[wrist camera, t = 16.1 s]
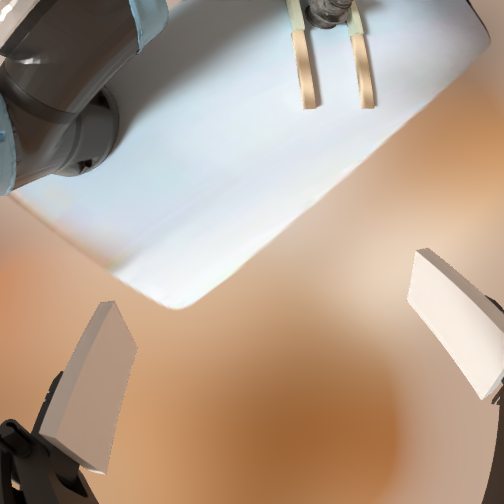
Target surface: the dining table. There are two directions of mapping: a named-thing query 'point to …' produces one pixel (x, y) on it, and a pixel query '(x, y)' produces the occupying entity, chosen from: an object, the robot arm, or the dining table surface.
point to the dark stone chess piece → (327, 12)
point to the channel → (306, 77)
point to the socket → (298, 22)
